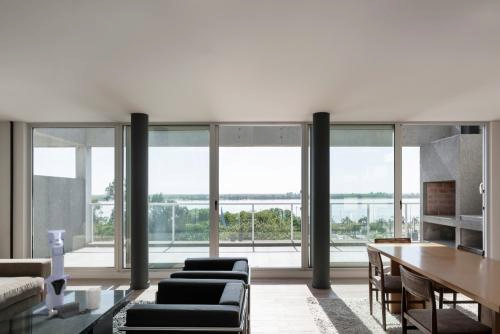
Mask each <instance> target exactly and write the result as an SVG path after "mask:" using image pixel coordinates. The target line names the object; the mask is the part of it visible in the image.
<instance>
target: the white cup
mask: <svg viewBox="0 0 500 334" xmlns="http://www.w3.org/2000/svg"><path fill="white" fill-rule="evenodd" d="M101 299H102V287H90V288H86V290H85V300H86V310H95V309H96V310H97V309H99V308H101Z"/></svg>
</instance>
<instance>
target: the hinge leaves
mask: <svg viewBox="0 0 500 334" xmlns="http://www.w3.org/2000/svg"><path fill="white" fill-rule="evenodd" d="M53 310H57V315H54V317H55V316H56V317H57V318H61V319H68V318H71V317H74V316H73V315H75V316H77V315H76V314H78V315H80V314H79V313H81V314H83V313H82V312H84V313H86V312H87V308H85V309H84V308H80V302H79V301H70V302H68V303H64V304H63V305H59V306H56V307H53ZM48 312H49V311H46V312H45V315H46V316H49V314H48Z"/></svg>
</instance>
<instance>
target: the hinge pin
mask: <svg viewBox="0 0 500 334" xmlns="http://www.w3.org/2000/svg"><path fill="white" fill-rule="evenodd" d="M47 312H48V314H49V315H48V317H49V318H53V317H55V316H54V315H56V316H57V310H49V311H47Z"/></svg>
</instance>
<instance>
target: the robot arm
mask: <svg viewBox="0 0 500 334" xmlns="http://www.w3.org/2000/svg"><path fill="white" fill-rule="evenodd" d="M65 243H66V230H65V229H53V230H47V231H46V245H47V247H49V248H50V256H51V274H50V275H49V276H48V277H47V278H44V279H43V281H42V282H43V284H44V285H45V284H46V293H47V294H46V295H45V307H44V308H43V309H44V310H53V307H56V306H59V305H63V304H65V302H64V299H65V297H64V294H65V291H66V290H67V279H72V278H73V274H70V273H69V274H65V254H66V246H65Z"/></svg>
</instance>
